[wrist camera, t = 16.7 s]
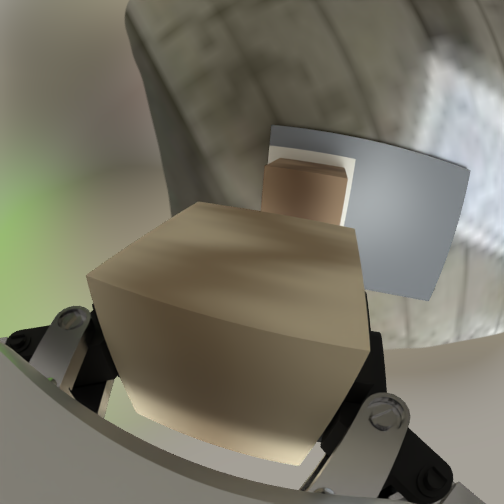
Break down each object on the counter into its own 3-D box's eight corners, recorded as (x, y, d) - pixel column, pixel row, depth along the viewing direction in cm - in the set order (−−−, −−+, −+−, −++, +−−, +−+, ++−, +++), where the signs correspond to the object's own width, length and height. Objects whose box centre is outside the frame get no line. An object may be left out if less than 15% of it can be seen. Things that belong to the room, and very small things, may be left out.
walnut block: (344, 167, 23) (347, 178, 18) (334, 228, 26) (333, 255, 21) (279, 157, 24) (264, 165, 19) (274, 218, 27) (258, 241, 22)
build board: (467, 169, 19) (470, 170, 19) (427, 298, 26) (429, 301, 26) (272, 124, 24) (271, 124, 23) (259, 265, 31) (257, 267, 30)
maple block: (354, 228, 9) (370, 350, 4) (320, 348, 12) (298, 465, 7) (198, 201, 11) (85, 274, 5) (200, 319, 13) (136, 412, 8)
